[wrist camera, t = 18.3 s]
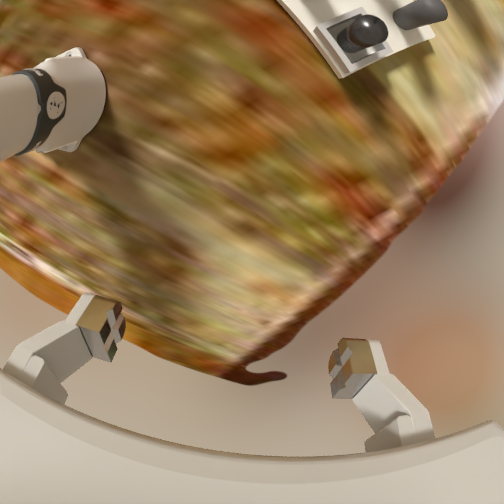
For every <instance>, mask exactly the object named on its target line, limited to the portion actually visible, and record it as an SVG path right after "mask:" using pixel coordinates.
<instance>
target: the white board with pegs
mask: <svg viewBox="0 0 504 504" xmlns="http://www.w3.org/2000/svg"><path fill="white" fill-rule="evenodd" d="M277 2H278V3H279V4H280V5H281V6H282V7H283V8H284V9H285V10H286V11H287V12H288V14H289V15H290V16H291V17H292V18H293V19H294V20H295V22H296V23H297V24H298V25H299V26H300V27H301V29H302V30H303V31H304V32H305V34H306V35H307V36H308V37H309V39H310V40H311V41H312V42H313V44H314V45H315V46H316V48H317V49H318V50H319V52H320V53H321V54H322V56H323V57H324V58H325V60H326V61H327V62H328V64H329V65H330V67H331V68H332V70H333V71H334V73H335V74H336V75H337V77H338V78H339V79H340V78H344V77H346V76H348V75H350V74H352V73H354V72H356V71H358V70H360V69H362V68H364V67H366V66H368V65H370V64H372V63H374V62H376V61H378V60H380V59H383V58H385V57H387V56H389V55H391V54H394V53H396V52H398V51H401V50H403V49H405V48H408V47H410V46H413V45H415V44H418V43H420V42H423V41H425V40H428V39H431V38H433V37H436V36H435V34H434V32H433V31H432V29H431V27H430V26H429V24H432V23H436V22H440V21H444V20H446V19H447V17H448V12H447V9H446V7H445V5H444V4H443V3H442V2H441V1H440V0H416V1H413V0H277ZM367 14H369V15H374V16H377V17H378V18H380V19H381V20H382V21H383V22H384V23H385V24H386V26H387V28H388V37H387V39H386V40H385V41H384V42H382V43H380V44H377V45H374V46H371V47H369V48H366V49H363V50H361V51H358V52H356V53H348V52H345V51H343V50H342V49H341V48H340V46H339V45H338V44H337V35H338V34H339V33H340V32H341V31H342V30H343V29H345V28H346V27H347V26H349V25H350V24H351V23H353V22H354V21H355V20H357V19H358V18H360V17H361V16H363V15H367Z"/></svg>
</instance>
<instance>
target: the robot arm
mask: <svg viewBox="0 0 504 504" xmlns="http://www.w3.org/2000/svg"><path fill="white" fill-rule="evenodd" d="M70 56H71V57H70ZM105 98H106V87H105V81H104V78H103V75H102V73H101V71H100V69H99V68H98V67H97V66H96V65H95V64H94V63H93V62H91V61H90V60H88V59H87V58H86V55H85V53H84V51H83V50H82V48H80V47H78V48H73V49H71V50H69V51H67V52H65V53H63V54H61V55H59V56H57V57H55V58H48V59H46V60H45V62H42V63H41V64H39V65H37V66H36V67H35V68H33V69H31V68H30V69H24V70H21V71H17V72H15V73H13V74H12V75H9V76H4V77H0V162H2V161H4V160H5V159H7V158H9V157H11V156H13V155H16V156H17V155H21V154H24V153H28V152H30V151H33V150H35V149H36V152H37V153H40V152H44V153H48V152H51V151H53V150H56V149H59V150H62V151H66V152H73V151H75V150H76V149H77V148H78V146H79V144H80V142H81V140H82V138H83V137H84V136H85V135H86V134H88V133H89V132H90V131H91V130H92V129H93V128H94V126H95V125H96V124H97V122H98V120H99V119H100V116H101V114H102V112H103V109H104V105H105ZM121 311H122V305H121V302H118V301H115V300H111V299H108V298H104V297H101V296H98V295H94V294H91V293H87V292H86V293H84V294H83V295H82V296H81V297H80V299H79V300H78V302H77V303H76V305H75V306H74V308H73V309H72V311H71V312H70V314H69V315H68V317H67V318H66V320H65V321H60V322H58V323H56V324H54V325H53V326H50V327H49V328H47V329H45V330H43V331H41V332H39V333H38V334H36V335H34V336H32V337H30V338H29V339H27V340H25V341H23V342H22V343H20V344H18V345H17V346H16V348H15V349H14V351H13V353H12V354H11V356H10V358H9V360H8V361H7V363H6V365H5V366H4V368H3V370H2V369H1V368H0V504H504V430H503V428H502V427H501V426H500V425H499V424H498V423H496V422H495V421H493V420H490V421H486V422H483V423H481V424H478V425H476V426H473V427H470V428H468V429H465V430H462V431H459V432H456V433H453V434H450V435H446V436H443V437H439V438H436V439H435V436H434V432H433V427H432V423H431V420H430V416H429V412H428V410H427V409H426V408H425V407H424V406H423V405H422V404H421V403H420V402H419V401H418V400H417V399H416V398H415V397H414V396H413V395H412V394H411V392H409V391H408V390H407V388H406V387H405V386H404V385H403V384H402V383H401V382H400V381H399V380H398V379H397V378H396V377H395V376H394V375H393V374H389V370H388V367H387V363H386V360H385V357H384V353H383V350H382V347H381V344H380V342H379V341H378V340H366V339H352V338H342V339H341V340H340V341H339V343H338V349H336V350H334V351H333V353H332V355H331V356H330V360H329V374H330V375H331V376H332V378H333V381H332V382H331V391H332V398H341V399H352V401H353V402H354V404H355V405H356V406H357V408H358V409H359V411H360V412H361V414H362V415H363V416H364V418H365V419H366V421H367V422H368V424H369V425H370V427H371V428H372V429H373V431H374V432H375V434H374V435H373V436H371V437H370V438H369V439H367V440H366V441H365V451H366V453H357V454H348V455H335V456H316V457H315V456H314V457H283V456H261V455H249V454H239V453H230V452H223V451H216V450H209V449H203V448H198V447H192V446H187V445H182V444H178V443H173V442H169V441H165V440H161V439H157V438H153V437H150V436H146V435H143V434H139V433H136V432H132V431H130V430H126V429H123V428H120V427H117V426H115V425H112V424H109V423H106V422H104V421H101V420H98V419H96V418H93V417H91V416H89V415H86V414H84V413H81V412H79V411H77V410H74V409H72V408H70V407H68V406H66V405H64V404H65V401H66V399H67V396H68V394H67V392H66V390H65V389H64V388H63V386H62V385H61V384H60V383H61V382H62V381H64V380H65V379H66V378H67V377H69V376H70V375H71V374H73V373H74V372H75V371H77V370H78V369H79V368H80V367H82V366H83V365H84V364H85V363H87V362H88V361H89V360H91V359H92V357H94V358H97V359H101V360H104V361H107V362H112V360H113V357H114V355H115V353H116V351H117V346H116V343H118V342H119V341H121V340H122V338H123V336H124V332H125V328H126V322H125V317H124V316H123V315H122V314H121Z"/></svg>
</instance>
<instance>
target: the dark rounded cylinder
mask: <svg viewBox="0 0 504 504" xmlns="http://www.w3.org/2000/svg"><path fill="white" fill-rule="evenodd" d="M387 37H388V28H387V26H386V24H385V23H384V22H383V21H382V20H381V19H380V18H378V17H377V16H374V15H369V14H367V15H363V16H361V17H360V18H358V19H357V20H355V21H354V22H353V23H351V24H350V25H349V26H347V27H346V28H345V29H343V30H342V31H341V32H340V33H339V34H338V35H337V44H338V45H339V46H340V48H341V49H342V50H343V51H345V52H348V53H356V52H358V51H361V50H363V49H366V48H369V47H371V46H374V45H377V44H380V43H382V42H384V41H385V40H386V39H387Z"/></svg>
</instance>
